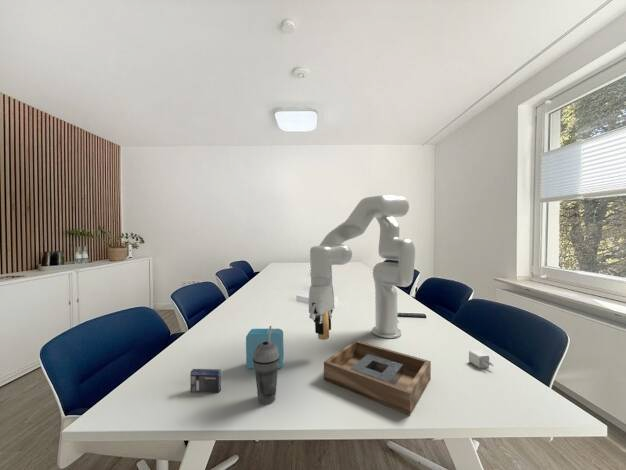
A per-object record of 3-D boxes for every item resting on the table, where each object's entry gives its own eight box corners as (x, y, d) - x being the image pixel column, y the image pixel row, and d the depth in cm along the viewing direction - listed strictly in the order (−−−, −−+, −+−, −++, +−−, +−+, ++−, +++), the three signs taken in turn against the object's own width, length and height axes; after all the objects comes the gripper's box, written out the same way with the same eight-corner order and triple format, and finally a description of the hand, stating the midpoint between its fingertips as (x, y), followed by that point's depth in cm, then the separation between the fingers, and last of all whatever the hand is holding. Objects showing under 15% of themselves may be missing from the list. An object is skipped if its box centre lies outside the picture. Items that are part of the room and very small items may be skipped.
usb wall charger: (479, 361, 91) (478, 349, 91) (496, 371, 84) (496, 359, 84) (468, 362, 90) (468, 350, 90) (485, 372, 83) (485, 360, 83)
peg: (322, 334, 96) (321, 307, 96) (331, 336, 94) (330, 309, 93) (315, 338, 93) (314, 310, 93) (324, 340, 91) (323, 312, 90)
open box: (355, 355, 96) (355, 340, 96) (430, 378, 80) (430, 361, 80) (323, 379, 80) (323, 362, 80) (410, 415, 64) (409, 393, 64)
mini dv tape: (190, 392, 74) (190, 371, 74) (193, 389, 76) (193, 368, 76) (218, 393, 74) (218, 372, 74) (220, 389, 76) (220, 369, 76)
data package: (283, 362, 91) (283, 328, 91) (282, 369, 87) (281, 333, 87) (249, 362, 91) (249, 328, 91) (246, 369, 87) (245, 333, 87)
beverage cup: (255, 392, 74) (254, 322, 74) (280, 390, 75) (280, 321, 75) (251, 409, 67) (250, 332, 67) (279, 407, 68) (278, 330, 67)
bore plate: (368, 362, 88) (367, 353, 88) (403, 374, 81) (403, 364, 81) (350, 378, 79) (350, 368, 79) (388, 393, 72) (388, 382, 72)
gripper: (326, 275, 102) (327, 322, 102) (298, 284, 88) (300, 337, 89) (342, 277, 97) (344, 326, 98) (315, 286, 84) (317, 342, 84)
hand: (323, 330), depth 93 cm, fingers closed on peg, 4 cm apart
